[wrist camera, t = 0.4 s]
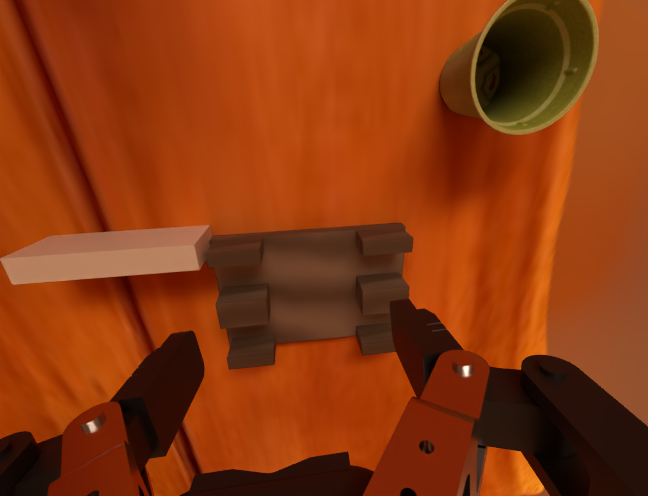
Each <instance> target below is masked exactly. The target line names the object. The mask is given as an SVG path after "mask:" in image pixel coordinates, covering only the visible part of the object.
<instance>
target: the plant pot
mask: <svg viewBox="0 0 648 496" xmlns="http://www.w3.org/2000/svg"><path fill="white" fill-rule="evenodd" d="M598 36H599V32H598V25H597V20H596V17H595V14H594V11H593V9H592V7H591V5H590V4H589V2H588V1H587V0H508V1H506V2H505V3H504V4H503V5H502V6H501V7H500V8H499V9H498V10H497V11H496V12H495V13H494V14H493V16H492V17H491V18H490V19H489V21H488V22H487V24H486V25H485V27H484V29H483V30H482V31H481V32H480V33H479V34H477V35H476V36H475V37H473V38H472V39H471V40H470V41H468V42H467V43H466V44H464V45H463V46H462V47H460V48H459V49H458V50H457V51H455V52H454V53H453V54H452V55H451V57H450V58H449V59H448V60H447V62H446V64H445V66H444V68H443V70H442V73H441V78H440V93H441V96H442V98H443V100H444V102H445V104H446V105H447V107H448V108H449V109H450V110H451V111H453V112H455V113H457V114H461V115H465V116H470V117H474V118H478V119H482V120H483V121H484V122H485V123H486V124H487V125H488V126H489V127H491V128H492V129H494V130H496V131H498V132H501V133H504V134H510V135H524V134H530V133H533V132H536V131H539V130H542V129H544V128H546V127H548V126H549V125H551V124H553V123H554V122H555V121H557V120H558V119H560V118H561V117H562V116H563V115H564V114H566V113H567V112H568V111H569V110H570V109H571V107H572V106H573V105H574V104H575V103H576V101H577V100H578V99H579V97H580V96H581V94H582V93H583V91H584V89H585V88H586V86H587V84H588V82H589V80H590V78H591V75H592V72H593V70H594V67H595V64H596V60H597V54H598V44H599V37H598ZM480 50H481V51H482V52H483V55H478V54H479V51H480ZM493 74H494V75H495V81H494V85H493V88H492V89H491V90H489V87H490V84H491V82H492V77H493Z"/></svg>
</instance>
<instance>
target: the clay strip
mask: <svg viewBox="0 0 648 496" xmlns="http://www.w3.org/2000/svg"><path fill="white" fill-rule="evenodd" d="M211 237H212V231H211V226H210V225H203V226H188V227H173V228H158V229H143V230H128V231H114V232H99V233H84V234H69V235H54V236H49V237H47V238H44V239H42V240H40V241H38V242H36V243H33V244H31V245H29V246H27V247H25V248H22V249H20V250H18V251H16V252H13V253H11V254H9V255H7V256H5V257H2V258H0V260H1V262H2V264H3V266H4V268H5V270H6V273H7V275H8V277H9V279H10V281H11V283H12V285H15V284H27V283H40V282H53V281H66V280H78V279H91V278H104V277H116V276H129V275H142V274H155V273H167V272H180V271H193V270H200V269H201V267H202V265H203V264H204V262H205V261H206V256H205V253H206V252H207V250H208V249H209V247H210V244H209V240H210V239H211Z"/></svg>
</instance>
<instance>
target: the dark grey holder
mask: <svg viewBox="0 0 648 496" xmlns="http://www.w3.org/2000/svg"><path fill="white" fill-rule="evenodd" d="M209 244H210V247H209V249H208V250H207V252H206V253H205V256H206V261H207V266H208V268H214V269H215V274H216V279H217V284H218V289H219V294H220V295H219V297H218V299H217V302H216V309H217V314H218V319H219V324H220V328H221V329H224V328H226V329H227V334H228V339H229V344H230V349H229V353H228V357H227V362H228V367H229V370H230V369H239V368H248V367H258V366H267V365H275V350H276V344H279V343H289V342H299V341H309V340H319V339H329V338H339V337H348V336H356V337H357V341H358V344H359V347H360V350H361V353H362V355H370V354H379V353H389V352H396V350H395V347H394V343H393V338H392V329H391V317H390V301H394V300H401V299H407V298H409V286H408V284H407V283H406V282H405V280H404V279H403V278H402V272H403V257H404V253H406V252H412V247H413V237H412V236H410V235H409V234H408V233H407V232H406V231H405V226H404V225H403V224H402V223H389V224H375V225H361V226H347V227H333V228H319V229H305V230H291V231H277V232H263V233H249V234H235V235H221V236H212V237H211V239H210V240H209Z"/></svg>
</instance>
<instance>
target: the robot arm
mask: <svg viewBox="0 0 648 496" xmlns="http://www.w3.org/2000/svg"><path fill="white" fill-rule="evenodd" d="M390 317H391V329H392V338H393V343H394V347H395V350H396V352H397V355H398V357H399V359H400V361H401V363H402V366H403V368H404V370H405V372H406V375H407V377H408V379H409V381H410V383H411V386H412V388H413V390H414V392H415V394H416V397H417V398H416V397H412V398H411V399H410V400H409V402H408V404H407V406H406V408H405V410H404V412H403V414H402V416H401V418H400V420H399V422H398V424H397V426H396V428H395V431H394V433H393V435H392V437H391V439H390V441H389V443H388V445H387V447H386V449H385V451H384V453H383V455H382V457H381V459H380V461H379V463H378V465H377V467H376V469H375V472H374V471H371V470H369V469H366V468H362V467H358V466H352V465H350V461H349V455H348V452H342V453H336V454H329V455H323V456H316V457H310V458H308V459H305V460H303V461H300V462H298V463H296V464H293V465H291V466H288V467H286V468H283V469H281V470H278V471H276V472H273V473H260V472H252V471H243V470H235V469H231V470H224V471H217V472H211V473H204V474H198V475H195V477H194V479H193V482H192V485H191V488H190V490H189V491H188V492H186V493H184V494H182V495H180V496H480V490H481V484H482V478H483V473H484V467H485V461H486V455H487V449H488V446H489V447H496V448H502V449H509V450H516V451H521V452H522V454H523V455H524V457H525V458H526V460H527V461H528V463H529V464H530V466H531V467H532V469H533V471H534V472H535V474H536V475H537V477H538V478H539V480H540V481H541V483H542V484H543V486H544V487H545V489H546V490H547V492H548V493H549V495H550V496H648V427H647V425H645V424H644V423H643V422H642V421H641V420H639V419H638V418H637V417H636V416H635V415H633V414H632V413H631V412H630V411H629V410H628V409H626V408H625V407H624V406H623V405H622V404H620V403H619V402H618V401H617V400H616V399H614V398H613V397H612V396H611V395H610V394H608V393H607V392H606V391H605V390H604V389H603V388H601V387H600V386H599V385H598V384H597V383H595V382H594V381H593V380H592V379H590V377H588V376H587V375H586V374H585V373H584V372H582V371H581V370H580V369H579V368H578V367H576V366H575V365H573V364H571V363H570V362H567V361H565V360H563V359H560V358H557V357H553V356H548V355H533V356H529V357H527V358H525V359H524V360H523V361H522V365H521V370H516V369H503V368H495V367H490V366H489V365H488V363H487V362H486V360H485V359H483V358H482V357H481V356H479V355H477V354H475V353H473V352H470V351H465V350H463V349H462V347H461V346H460V345H459V344H458V342H457V341H456V340H455V339H454V337H453V336H452V335H451V334H450V332H449V331H448V330H446V328H445V326H444V325H443V324H442V323H441V321H440V320H439V319H438V318H437V316H436V315H435V314H433V313H432V312H430V311H428V310H426V309H416V308H415V306H414V305H413V304H412V302H411V301H410V300H409V299H408V298H407V299H401V300H394V301H390ZM203 377H204V362H203V359H202V355H201V352H200V349H199V346H198V342H197V339H196V336H195V334H194V332H193V331H185V332H178V333H172V334H171V335H170V336H169V337H168V338H167V339H166V341H165V342H164V343H163V344H162V346H161V347H160V348H158V349H156V350H155V351H154V352H152V353H151V354H150V355H148V356H147V357H146V358H145V359H144V361H143V362H142V363H141V364H140V365H139V368H137V369H136V370H135V371H134V373H133V374H132V377H129V379H128V380H127V381H126V382H125V383H124V385H123V386H122V387H121V388H120V389H119V391H118V392H117V393H116V394H115V396H114V397H113V398H112V399H111V400H110V402H106V403H102V404H99V405H96V406H94V407H92V408H90V409H88V410H86V411H85V412H83V413H82V414H80V415H79V416H78V417H76V418H75V419H74V420H73V421H72V422H71V423H70V424H69V425H68V426H67V427H66V429H65V431H64V433H63V434H62V435H59V436H57V437H54V438H51V439H48V440H46V441H43V442H40V443H38V444H37V443H36V441H35V439H34V437H33V435H32V434H31V433H30V432H26V431H24V432H18V433H14V434H11V435H9V436H6V437H4V438H2V439H0V496H154V492H153V488H152V485H151V481H150V477H149V473H148V471H147V468H146V466H145V465H146V463H147V462H148V460H149V459H150V458H156V457H163V456H166V454H167V452H168V450H169V448H170V446H171V444H172V442H173V440H174V438H175V435H176V433H177V431H178V429H179V427H180V425H181V423H182V421H183V419H184V417H185V415H186V413H187V411H188V409H189V407H190V405H191V403H192V401H193V399H194V396H195V394H196V392H197V390H198V388H199V386H200V384H201V382H202V380H203Z"/></svg>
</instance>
